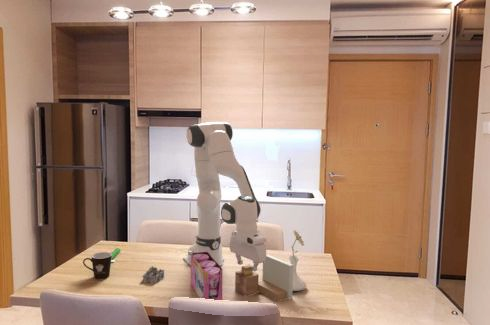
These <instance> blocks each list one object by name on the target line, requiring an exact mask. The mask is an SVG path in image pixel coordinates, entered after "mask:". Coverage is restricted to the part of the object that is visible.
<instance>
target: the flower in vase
mask: <svg viewBox="0 0 490 325" xmlns="http://www.w3.org/2000/svg"><path fill="white" fill-rule="evenodd" d="M293 235H294V236H295V240H294V242H293V244H292V246H291V249H292V252H291V253H292V255H289V256H288V257H287V258H288V259H289V261H290V262H289V263H290V264H293V289H292V292H298V291H303V290H305V289H306V288H307V284H306V282H305V280H304V279H303V278H301V277H300V276H299V275H298V273H297V264H298V262H299V260H300V259H301V257H300V256H299V255H295V254H296V253H298V250H296V251H295V249H294V246H295V245H296V244H295V243H296V242H297V241H298V243H299V244H300V245H301V246H302V247H303V246H305V244H304V241H303V239H302V236H301V235H300V234H299V232H298V231H297V230H296V229H294V230H293Z"/></svg>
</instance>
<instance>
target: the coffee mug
mask: <svg viewBox="0 0 490 325" xmlns="http://www.w3.org/2000/svg"><path fill="white" fill-rule="evenodd" d="M111 253H112V252H109V251H102V252H96V253H93V254H92V255H91V258H90V257H86V258H84V259H83V261H82V263H83V266H84V267H86V268H87V269H89V270H91V271H92V272H93V278H94V279H95V280H106V279H108V278H110V274H111V272H110V271H111V264H112V262H111V257H112V254H111ZM86 260H89V261H90V262H91V263H92V265H91V266H92V268H91V267H90V266H87V264H86V263H85V262H86Z"/></svg>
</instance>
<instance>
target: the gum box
mask: <svg viewBox="0 0 490 325" xmlns="http://www.w3.org/2000/svg"><path fill="white" fill-rule="evenodd" d="M190 284H191V286H192V288H193V289H194V291H195V293H196V294H197V296H198V298H199V299H200V298H205V299H214V300H222V301H223V268H222V265H221V266H220V265H219V264H218V263H217V262H216V261H215V260H214V259H213V258H212V257H211V255H210V254H209V253H208V252H199V253H191V266H190Z"/></svg>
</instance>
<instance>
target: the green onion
mask: <svg viewBox="0 0 490 325" xmlns="http://www.w3.org/2000/svg"><path fill="white" fill-rule="evenodd" d="M120 252H121V249H120V248H115V249H114V250H113V251H112V252H110V253H111V254H112V257H111V263H114V262H116V260H115V259H114V258H115V257H116V256H117V255H118V254H119V253H120Z"/></svg>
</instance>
